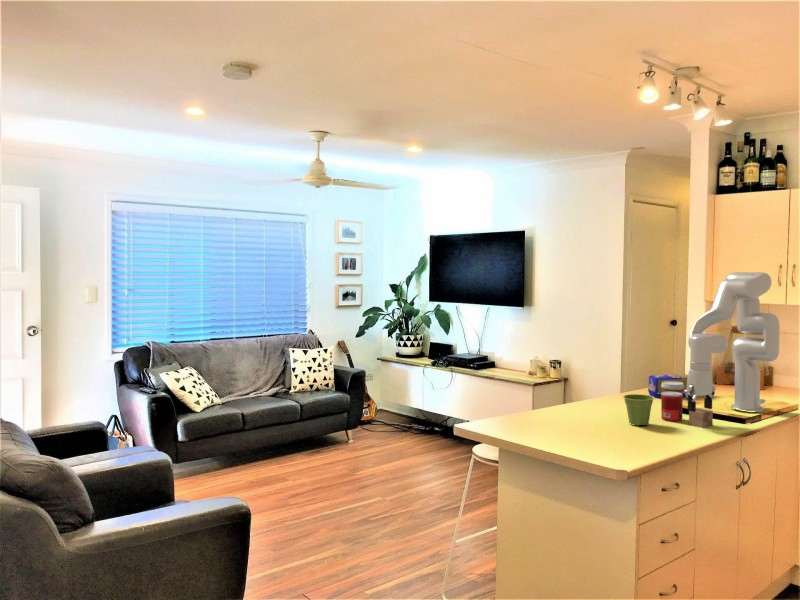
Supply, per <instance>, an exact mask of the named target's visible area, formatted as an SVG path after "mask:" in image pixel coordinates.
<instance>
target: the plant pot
mask: <svg viewBox="0 0 800 600" xmlns="http://www.w3.org/2000/svg"><path fill="white" fill-rule="evenodd" d="M622 398H623V399H624V404H625V407H626V410H627V411H626V412H627V417H628V418H627V419H628V423H629V424H630V423H631V424H634V425H647V426H649V422H650V418H651V417H650V416H651V411H652V405H653V403H654V402H653V401H654V399H655V397H653V396H651V395H650V394H649V395H648V394H639V393H638V394H637V393H631V394H629V393H628V394H624V395H622ZM631 424H630V425H631Z"/></svg>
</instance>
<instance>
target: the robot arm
mask: <svg viewBox="0 0 800 600" xmlns="http://www.w3.org/2000/svg"><path fill="white" fill-rule="evenodd" d="M771 287H772V277H771V275H769V274H768V273H766V272H760V271H759V272H758V271H757V272H754V271H751V272H749V271H748V272H747V271H741V272H740V271H739V272H731V273H728V274H727V275H726V277H725V279H723V280H721V282H720V283H719V285H718V287H717V290H716V293H715V296H714V299H713V302H712V304H711V307H710V309H709V310H708V311H707V312H705V313H704V314H702V315H701V316H700V317H699V318H698V319H697V320H696V321H695V322H694V323H693V325H692V327H691V330H690V333H689V335H688V343H687V344H688V347H689V349H690V355H689V356H690V357H689V359H690V362H689V370H688V374H687V375H688V379H687V389H686V390H684V393H685V397H684V398H685V399H686V401H687V411H688V412H689V411H693V412H695V411H696V409H697V408H696V407H697V406H696V405H697V402H696V399H697V397H703V396H704V398H703V402H704V403H703V409H706V410H712V409H713V399H714V395H715V393H716V389H717V387H716V386H714V384H713V383H714V382H713V372H712V354H722V353H724V352H725V351H726V350H727V349H728V347H729V342H728V339H727V337H725V336H724V335H722V334H716V333H715V334H714V333H713V334H712V333H705V331H706V330H707V329H708V328H710V327H711V326H714V325H716V324H719V323H722V322H724V321H728V320H730V319H732V317H733V316H734V314H735V313H734V312H735V311H736V328H737V330H738V332H740V333H741V334H745V335H746V334H747V335H757V336H758V335H759V336H762V337H763V338H762V337H753V336H741V337H737V338H736V339H734V341H733V342H732V354H733V359H734V404H731V405H730V408H731V407H732V408H736V409H739V410H746V411H755V412H759V413H762V412H761V411H763V412H764V411H765V409H764V407H763V406H761V405H762V404H765V403H766V399H765V398H761V391H760V390H761V384H760V383H761V371H760V367H759V365H758V363H757V362H756V361H759V362H760V361H761V362H774V361H777V359H778V357H779V353H780V327H781V326H780V320H779V318H778V316H777V315H776V314H774V313H772V312H771V313H770V312H761V310H760V308H761V307H760V299H759V297H761V296H763V295H764V294H766V293H767V292H768V291H769V290H770V289H771ZM692 396H693V397H692Z"/></svg>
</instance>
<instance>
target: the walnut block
mask: <svg viewBox="0 0 800 600" xmlns="http://www.w3.org/2000/svg"><path fill="white" fill-rule="evenodd" d="M713 416H714V415H713V410H711V409H706V408H700V407H699V408H696V411H695V412H693V411H688V425H689V426H693V427H697V428H700V429H705V428H709V427H713V425H714V424H713V418H714V417H713Z"/></svg>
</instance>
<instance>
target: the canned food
mask: <svg viewBox="0 0 800 600" xmlns="http://www.w3.org/2000/svg"><path fill="white" fill-rule="evenodd" d="M660 400H661V401H660V402H661V403H660V405H661V408H660V410H661V411H660V413H661V419H662V420H663V421H666V422H670V423H671V422H672V423H676V422H678V423H679V422H682V421H683V397H682V393H679V392H662V394H661V398H660Z"/></svg>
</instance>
